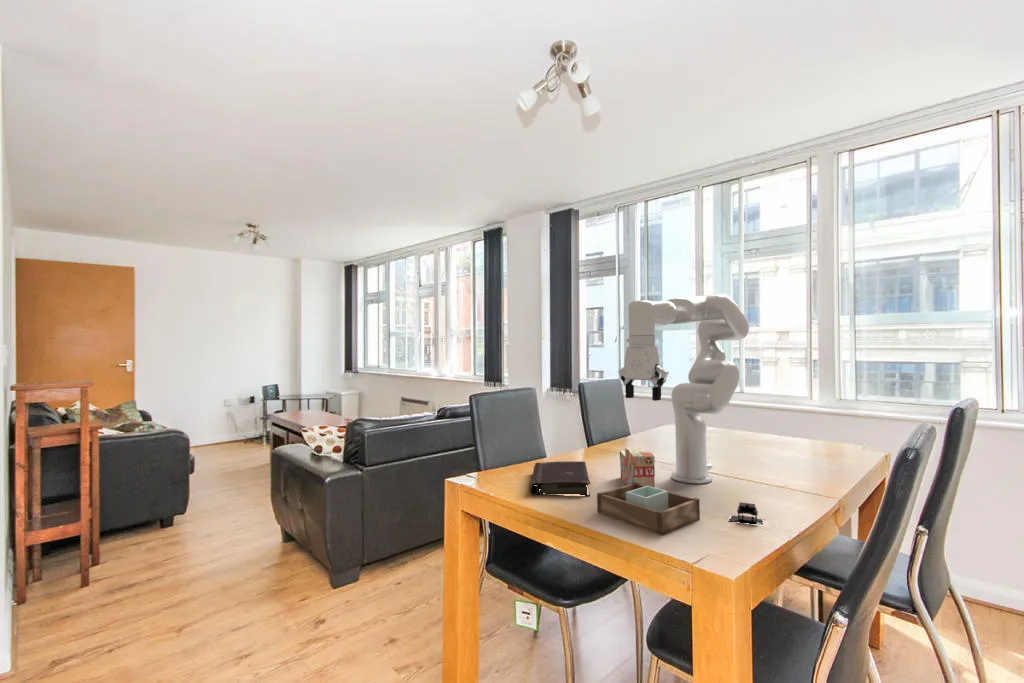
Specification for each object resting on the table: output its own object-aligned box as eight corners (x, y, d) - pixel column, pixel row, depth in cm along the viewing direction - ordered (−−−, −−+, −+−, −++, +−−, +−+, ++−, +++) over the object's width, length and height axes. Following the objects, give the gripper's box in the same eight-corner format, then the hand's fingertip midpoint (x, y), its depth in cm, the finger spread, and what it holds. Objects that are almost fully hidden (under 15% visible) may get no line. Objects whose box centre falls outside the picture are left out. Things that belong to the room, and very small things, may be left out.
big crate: (635, 500, 137) (635, 482, 137) (699, 519, 121) (699, 498, 121) (597, 512, 127) (597, 493, 127) (662, 535, 111) (661, 512, 111)
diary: (529, 498, 143) (529, 481, 143) (534, 476, 168) (533, 461, 168) (593, 498, 141) (592, 481, 141) (587, 475, 166) (587, 461, 166)
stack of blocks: (620, 477, 161) (619, 441, 161) (638, 477, 161) (638, 441, 161) (633, 497, 140) (633, 455, 140) (655, 497, 140) (654, 455, 140)
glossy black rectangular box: (719, 523, 119) (719, 505, 120) (721, 514, 126) (721, 497, 126) (776, 531, 114) (775, 512, 114) (775, 522, 120) (775, 503, 120)
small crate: (647, 506, 129) (647, 485, 130) (668, 512, 124) (668, 491, 124) (626, 513, 124) (625, 492, 124) (647, 520, 119) (646, 498, 119)
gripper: (611, 342, 148) (612, 397, 148) (658, 341, 134) (660, 402, 134) (626, 342, 153) (627, 396, 152) (674, 341, 139) (675, 400, 139)
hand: (642, 399), depth 143 cm, fingers open, 9 cm apart
